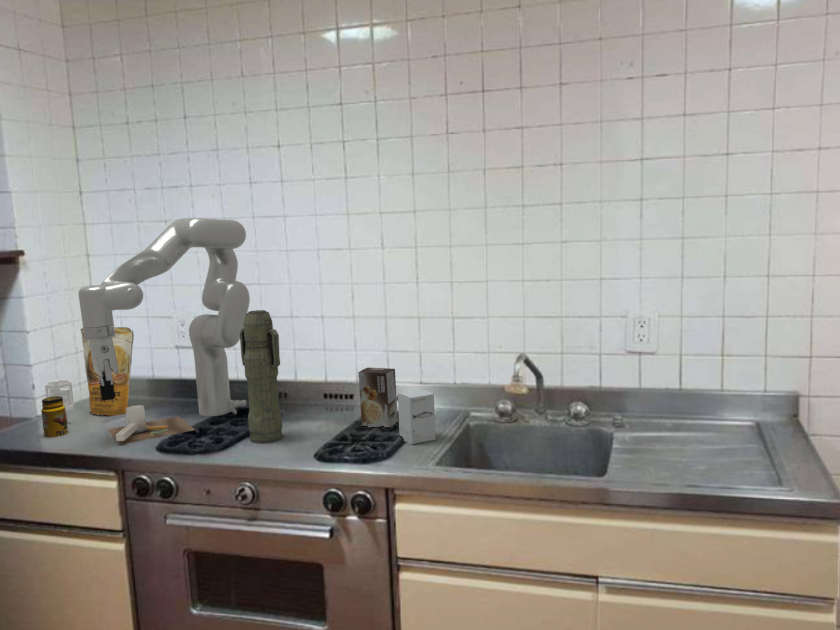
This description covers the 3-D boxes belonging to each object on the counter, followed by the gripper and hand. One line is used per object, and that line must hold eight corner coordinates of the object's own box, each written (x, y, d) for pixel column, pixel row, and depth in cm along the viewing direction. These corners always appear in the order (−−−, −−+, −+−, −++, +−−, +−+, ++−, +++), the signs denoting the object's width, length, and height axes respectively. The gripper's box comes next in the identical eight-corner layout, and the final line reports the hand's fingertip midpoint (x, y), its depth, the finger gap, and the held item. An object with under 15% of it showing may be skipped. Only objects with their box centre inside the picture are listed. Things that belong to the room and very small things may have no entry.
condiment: (71, 439, 201) (66, 398, 199) (37, 446, 196) (32, 403, 194) (67, 433, 207) (63, 393, 205) (35, 439, 202) (30, 398, 200)
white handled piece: (129, 427, 204) (127, 405, 203) (169, 425, 204) (167, 403, 203) (108, 445, 188) (105, 421, 187) (151, 442, 188) (148, 418, 187)
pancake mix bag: (97, 409, 234) (88, 325, 230) (143, 412, 227) (134, 326, 223) (81, 414, 228) (71, 328, 224) (127, 418, 221) (118, 329, 217)
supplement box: (411, 445, 183) (409, 397, 181) (398, 438, 189) (396, 392, 188) (436, 440, 186) (434, 393, 184) (423, 433, 193) (421, 387, 191)
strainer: (48, 432, 209) (42, 382, 207) (52, 425, 216) (46, 377, 214) (74, 429, 211) (69, 379, 209) (77, 422, 218) (72, 375, 216)
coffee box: (399, 423, 203) (396, 368, 201) (389, 429, 198) (387, 373, 195) (370, 420, 207) (367, 366, 205) (360, 427, 201) (357, 371, 199)
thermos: (277, 444, 188) (267, 313, 183) (238, 441, 192) (228, 313, 187) (293, 434, 196) (285, 309, 192) (256, 432, 200) (247, 309, 196)
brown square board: (178, 421, 215) (178, 416, 215) (195, 434, 200) (195, 429, 200) (107, 434, 204) (107, 429, 204) (120, 449, 189) (119, 444, 189)
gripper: (120, 333, 184) (129, 401, 187) (109, 327, 197) (117, 391, 199) (88, 338, 180) (98, 407, 183) (79, 331, 193) (88, 396, 195)
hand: (108, 398), depth 191 cm, fingers closed
